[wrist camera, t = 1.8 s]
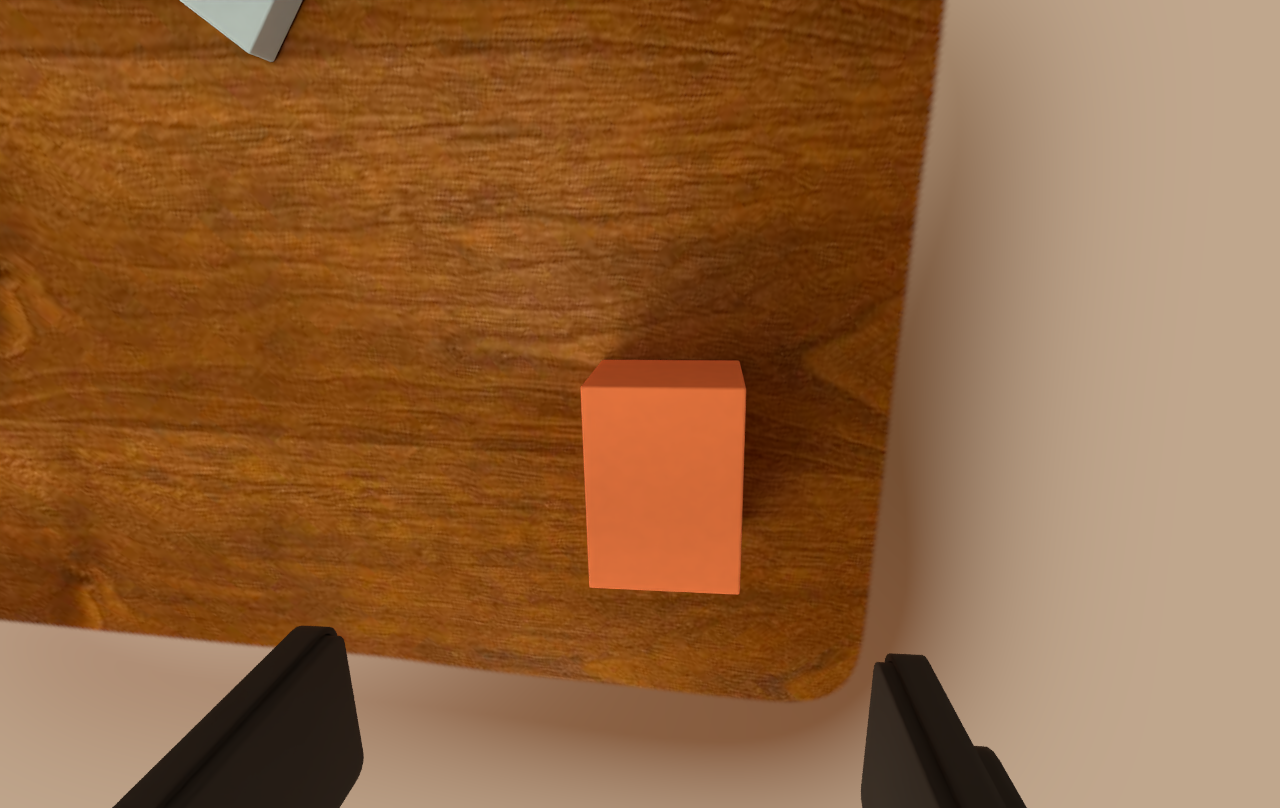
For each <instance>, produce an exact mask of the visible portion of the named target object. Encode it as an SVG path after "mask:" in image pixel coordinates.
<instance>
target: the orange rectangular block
mask: <svg viewBox="0 0 1280 808" xmlns="http://www.w3.org/2000/svg"><path fill="white" fill-rule="evenodd" d="M581 410H582V432H583V454H584V476H585V499H586V521H587V543H588V565H589V585H590V587H591V588H611V589H633V590H654V591H676V592H697V593H719V594H739V592H740V570H741V539H742V508H743V477H744V446H745V415H746V387H745V382H744V378H743V374H742V369H741V365H740V362H739V361H738V360H602V361H601V362H600V364H599V365H598V366H597V367H596V369H595V370H594V371H593V372H592V374H591V375H590V376H589V377H588V379H587V380H586V381H585V382H584V383H583V385H582V386H581Z"/></svg>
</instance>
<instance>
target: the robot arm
mask: <svg viewBox="0 0 1280 808" xmlns="http://www.w3.org/2000/svg"><path fill="white" fill-rule="evenodd" d="M363 758H364V757H363V748H362V742H361V736H360V730H359V725H358V719H357V713H356V707H355V701H354V695H353V689H352V683H351V677H350V671H349V666H348V660H347V654H346V648H345V643H344V639H343V638H342V637H340V636H337V633H336V631H335V630H334V629H333V628H331V627H319V626H299V627H296V628H295V629H294V630H292V631H291V632H290V633H289V634H288V635H287V636H286V637H285V638H284V639H283V640H282V641H281V642H280V643H279V644H278V645H277V646H276V647H275V648H274V649H273V650H272V651H271V652H270V653H269V654H268V655H267V656H266V657H265V658H264V659H263V660H262V661H261V662H260V663H259V664H258V665H257V666H256V667H255V668H254V669H253V670H252V671H251V672H250V673H249V674H248V675H247V676H246V677H245V678H244V679H243V680H242V681H241V682H240V683H239V684H238V685H236V686H235V687H234V689H233V690H231V691H230V693H228V694H227V695H226V696H225V697H224V698H223V699H222V700H221V701H220V702H219V703H218V704H217V705H216V706H215V707H214V708H213V709H212V710H211V711H210V712H209V713H208V714H207V715H206V716H205V717H204V718H203V719H202V720H201V721H200V722H199V723H198V724H197V725H196V726H195V727H194V728H193V729H192V730H191V731H190V732H189V733H188V734H187V735H186V736H185V737H184V738H183V739H182V740H181V741H180V742H179V743H178V744H177V745H176V746H175V747H174V748H172V749H171V751H169V753H167V754H166V755H165V756H164V758H162V759H161V760H160V761H159V762H158V763H157V764H156V765H155V766H154V767H153V768H152V769H151V770H150V771H149V772H148V773H147V774H146V775H145V776H144V777H143V778H142V779H141V780H140V781H139V782H138V783H137V784H136V785H135V786H134V787H133V788H132V789H131V790H130V791H129V792H128V793H127V794H126V795H125V796H124V797H123V798H122V799H121V800H120V801H119V802H118V803H117V804H116V805H115V806H114V807H113V808H340V806H341V805H342V803H343V801H344V800H345V798H346V797H347V795H348V793H349V792H350V790H351V789H352V787H353V785H354V784H355V782H356V780H357V779H358V777H359V775H360V772H361V769H362V765H363ZM861 800H862V808H1026V806H1025V804H1024V802H1023V800H1022V799H1021V797H1020V795H1019V794H1018V792H1017V790H1016V788H1015V786H1014V785H1013V783H1012V781H1011V779H1010V778H1009V776H1008V774H1007V772H1006V771H1005V769H1004V767H1003V765H1002V764H1001V762H1000V760H999V759H998V758H997V756H996V755H995V753H994V752H993V751H992V750H991V749H989V748H988V747H982V746H974V745H973V744H972V742H971V740H970V738H969V736H968V734H967V732H966V731H965V729H964V727H963V725H962V723H961V721H960V719H959V718H958V716H957V714H956V712H955V710H954V708H953V706H952V705H951V703H950V701H949V699H948V697H947V695H946V693H945V691H944V690H943V688H942V686H941V684H940V682H939V680H938V679H937V676H936V674H935V673H934V671H933V669H932V667H931V665H930V663H929V662H928V660H927V659H926V657H925V656H923V655H910V654H888V655H887V656H886V658H885V663H884V662H877V663H875V665H874V671H873V680H872V690H871V699H870V708H869V719H868V727H867V737H866V747H865V756H864V765H863V774H862V784H861Z"/></svg>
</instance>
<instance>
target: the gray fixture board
mask: <svg viewBox="0 0 1280 808" xmlns="http://www.w3.org/2000/svg"><path fill="white" fill-rule="evenodd" d="M180 1H181V2H182V3H184V4H185V5H186V6H187V7H189V8H190V9H191V10H193V11H194V12H195V13H197V14H198V15H199V16H201V17H202V18H203V19H204V20H206V21H207V22H208V23H210V24H211V25H212V26H214V27H215V28H216V29H217V30H219V31H220V32H221V33H223V34H224V35H225V36H227V37H228V38H229V39H230V40H232V41H233V42H234V43H236V44H237V45H238V46H240V47H241V48H242V49H243V50H245V51H246V52H247V53H249V54H252V55H254V56H257V57H260V58H262V59H265V60H268V61H270V62H273V61H274V60H275V58H276V56H277V53H278V51H279V49H280V47H281V45H282V43H283V41H284V39H285V37H286V34H287V32H288V30H289V28H290V26H291V24H292V22H293V20H294V18H295V15H296V13H297V11H298V9H299V7H300V5H301V3H302V1H303V0H180Z"/></svg>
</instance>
